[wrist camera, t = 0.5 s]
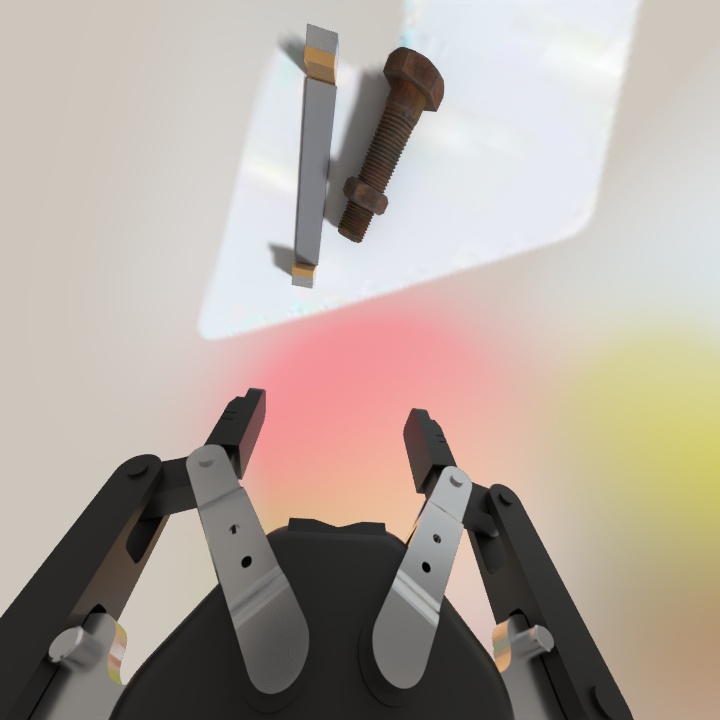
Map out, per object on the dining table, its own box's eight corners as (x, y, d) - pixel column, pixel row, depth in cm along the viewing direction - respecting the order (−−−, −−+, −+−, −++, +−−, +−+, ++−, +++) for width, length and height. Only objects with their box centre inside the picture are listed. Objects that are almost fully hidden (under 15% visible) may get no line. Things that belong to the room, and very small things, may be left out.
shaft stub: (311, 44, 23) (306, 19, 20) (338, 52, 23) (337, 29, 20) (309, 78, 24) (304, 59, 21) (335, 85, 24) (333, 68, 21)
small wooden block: (297, 261, 32) (292, 267, 29) (316, 265, 33) (313, 271, 30) (295, 278, 33) (290, 285, 30) (314, 282, 34) (311, 289, 31)
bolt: (343, 231, 33) (405, 81, 25) (375, 250, 32) (447, 100, 25) (318, 223, 28) (385, 34, 20) (354, 245, 27) (439, 56, 20)
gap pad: (307, 79, 24) (307, 77, 24) (336, 87, 24) (336, 86, 24) (295, 260, 32) (295, 261, 32) (317, 264, 33) (317, 265, 32)
